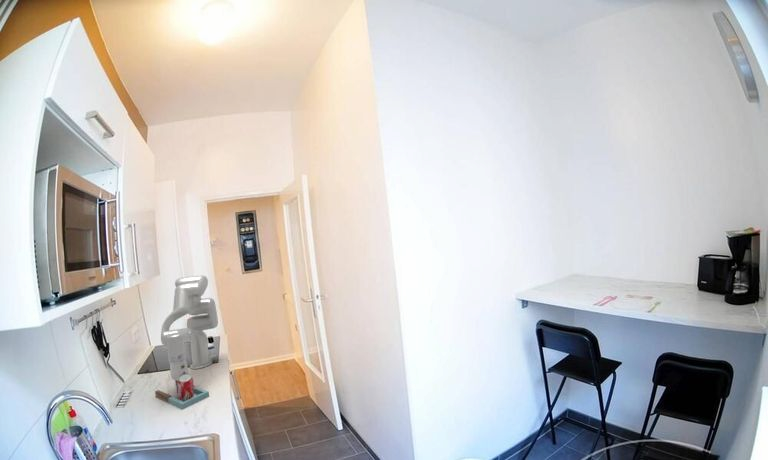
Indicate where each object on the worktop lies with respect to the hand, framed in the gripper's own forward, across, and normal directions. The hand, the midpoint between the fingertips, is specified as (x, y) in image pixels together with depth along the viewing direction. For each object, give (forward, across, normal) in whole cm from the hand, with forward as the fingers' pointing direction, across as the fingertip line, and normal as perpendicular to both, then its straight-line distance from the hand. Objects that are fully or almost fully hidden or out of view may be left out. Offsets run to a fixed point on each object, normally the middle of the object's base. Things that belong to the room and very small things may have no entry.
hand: (180, 392), depth 179 cm
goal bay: (+3, -6, -1) cm, 6 cm away
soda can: (+2, -4, 0) cm, 5 cm away
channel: (+3, +7, 0) cm, 8 cm away
